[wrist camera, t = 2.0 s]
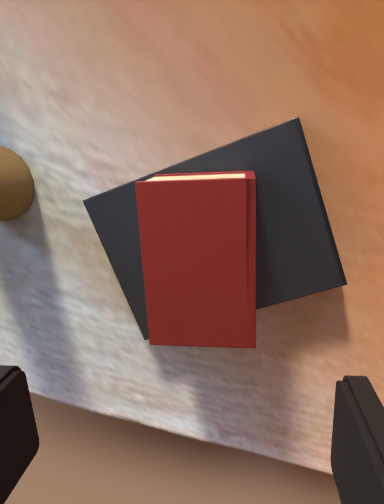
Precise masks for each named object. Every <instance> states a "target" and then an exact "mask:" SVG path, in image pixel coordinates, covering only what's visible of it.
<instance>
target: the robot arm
mask: <svg viewBox="0 0 384 504" xmlns="http://www.w3.org/2000/svg"><path fill="white" fill-rule="evenodd" d="M38 448H39V437H38V432H37V427H36V422H35V418H34V413H33V409H32V403H31V399H30V394H29V389H28V384H27V379H26V375H25V373H24V371H21V369H20V368H19V367H18V366H3V365H1V366H0V504H4V503H5V501H6V500H7V498H8V497H9V495H10V493H11V492H12V490H13V489H14V487H15V486H16V484H17V483H18V481H19V479H20V478H21V476H22V475H23V473H24V472H25V470H26V469H27V467H28V466H29V464H30V462H31V461H32V459H33V457H34V456H35V455H36V453H37V451H38ZM331 467H332V472H333V476H334V479H335V483H336V486H337V490H338V493H339V497H340V501H341V504H384V407H383V405H382V403H381V402H380V400H379V398H378V396H377V394H376V392H375V391H374V389H373V387H372V385H371V383H370V381H369V379H368V378H367V377H366V376H344V378H343V381H337V382H336V392H335V405H334V419H333V433H332V447H331Z"/></svg>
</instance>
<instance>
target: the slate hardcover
mask: <svg viewBox="0 0 384 504" xmlns="http://www.w3.org/2000/svg"><path fill="white" fill-rule="evenodd" d="M252 170H253V171H254V173H255V177H256V309H260V308H264V307H267V306H271V305H275V304H278V303H282V302H285V301H289V300H293V299H296V298H300V297H304V296H307V295H311V294H315V293H318V292H322V291H326V290H329V289H333V288H336V287H340V286H344V285H347V282H346V279H345V275H344V272H343V268H342V265H341V262H340V258H339V255H338V251H337V248H336V244H335V241H334V237H333V234H332V230H331V227H330V223H329V220H328V216H327V213H326V209H325V206H324V203H323V199H322V196H321V192H320V189H319V185H318V182H317V178H316V175H315V171H314V168H313V164H312V161H311V157H310V154H309V150H308V147H307V144H306V140H305V137H304V133H303V130H302V126H301V123H300V119H299V117H297V118H294V119H292V120H289V121H286V122H284V123H281V124H279V125H276V126H274V127H271V128H268V129H266V130H263V131H261V132H258V133H256V134H253V135H251V136H248V137H245V138H243V139H240V140H238V141H235V142H233V143H230V144H227V145H225V146H222V147H220V148H217V149H215V150H212V151H209V152H207V153H204V154H202V155H199V156H197V157H194V158H191V159H189V160H186V161H184V162H181V163H179V164H176V165H173V166H171V167H168V168H166V169H163V170H161V171H158V172H155V173H153V174H150V175H148V176H145V177H143V178H140V179H137V180H135V181H132V182H130V183H127V184H125V185H122V186H119V187H117V188H114V189H112V190H109V191H107V192H104V193H101V194H99V195H96V196H94V197H91V198H89V199H86V200H83V202H84V205H85V207H86V209H87V211H88V214H89V216H90V218H91V220H92V223H93V225H94V227H95V229H96V232H97V234H98V236H99V238H100V241H101V243H102V245H103V247H104V249H105V252H106V254H107V256H108V258H109V261H110V263H111V265H112V267H113V270H114V272H115V274H116V276H117V279H118V281H119V283H120V285H121V288H122V290H123V292H124V294H125V297H126V299H127V301H128V303H129V306H130V308H131V310H132V312H133V314H134V317H135V319H136V321H137V323H138V326H139V328H140V330H141V332H142V335H143V337H144V339H145V340H147V339H149V330H148V319H147V308H146V297H145V286H144V275H143V264H142V254H141V243H140V232H139V221H138V210H137V199H136V189H135V182H137V181H146V180H148V179H151V178H153V177H154V175H155V174H174V173H200V172H226V171H252Z"/></svg>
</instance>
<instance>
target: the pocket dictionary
mask: <svg viewBox="0 0 384 504" xmlns="http://www.w3.org/2000/svg"><path fill="white" fill-rule="evenodd" d="M135 189H136V199H137V210H138V221H139V232H140V243H141V254H142V264H143V275H144V286H145V297H146V308H147V319H148V330H149V340H150V345H169V346H200V347H230V348H256V177H255V173H254V171H253V170H252V171H226V172H200V173H174V174H155V175H154V177H153V178H151V179H148V180H146V181H137V182H135Z"/></svg>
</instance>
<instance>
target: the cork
mask: <svg viewBox="0 0 384 504" xmlns="http://www.w3.org/2000/svg"><path fill="white" fill-rule="evenodd" d="M33 195H34V185H33V179H32V176H31V173H30V171H29V168H28V167H27V165H26V164H25V163H24V161H23V160H22V159H21V157H19V156H18V155H17V154H15V153H14V152H13V151H12V150H10V149H7V148H5V147H2V146H0V222H1V221H9V220H12V219H16V218H19V217H20V216H21V215H23V214H24V213H25V212H26V211H27V210H28V208H29V206H30V205H31V203H32V199H33Z"/></svg>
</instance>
